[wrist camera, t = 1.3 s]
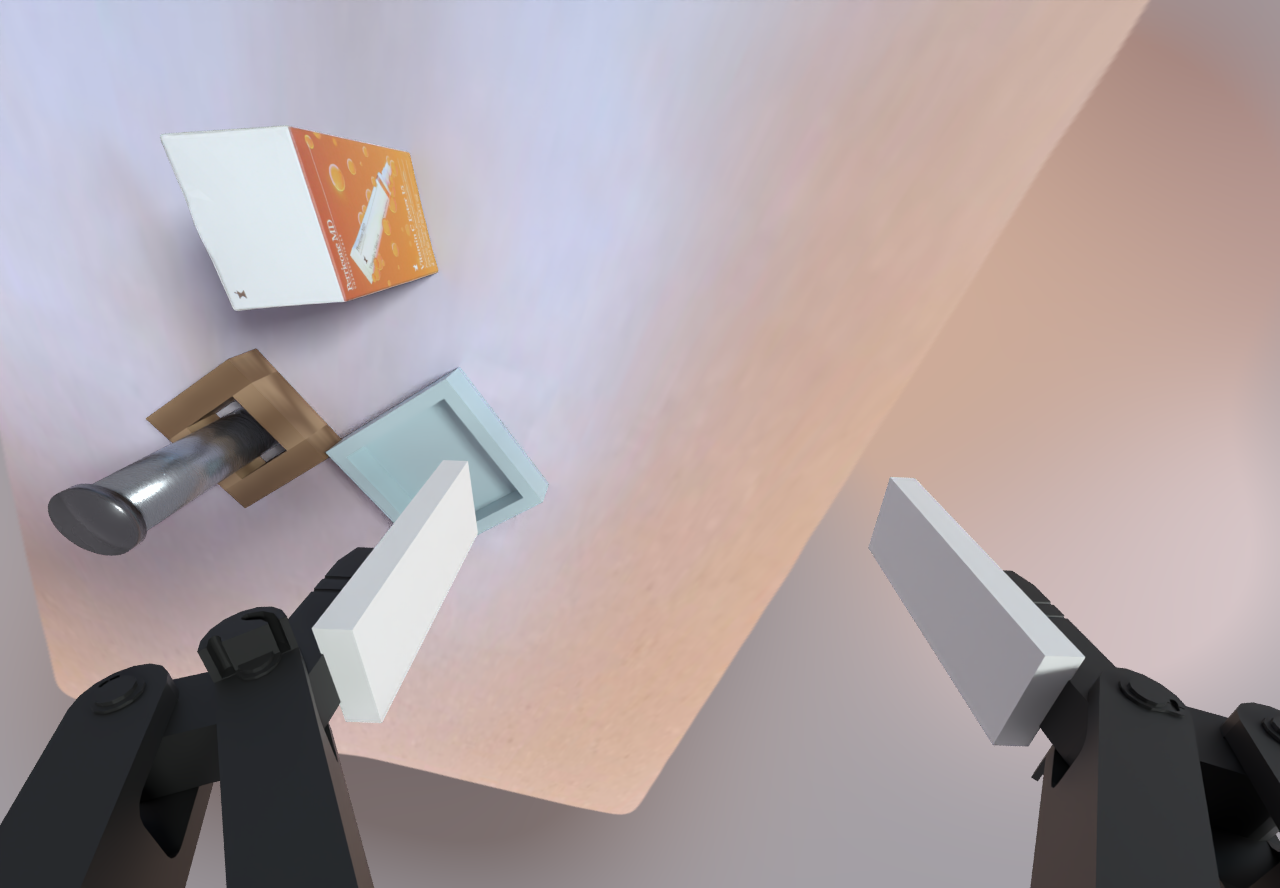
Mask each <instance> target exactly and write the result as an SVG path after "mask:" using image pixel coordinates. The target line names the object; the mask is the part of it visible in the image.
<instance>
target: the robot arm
mask: <svg viewBox="0 0 1280 888" xmlns="http://www.w3.org/2000/svg"><path fill="white" fill-rule="evenodd" d="M477 534H478V530H477V523H476V515H475V508H474V501H473V494H472V487H471V480H470V472H469V465H468V461H455V460H443V461H442V462H441V463H440V465H439V466H438V467H437V469H436V470H435V471H434V472H433V474H432V475H431V476H430V478H429V479H428V480H427V481H426V483H425V484H424V485H423V487H422V488H421V489H420V490H419V492H418V493H417V494H416V496H415V497H414V498H413V499H412V501H411V502H410V503H409V504H408V506H407V507H406V508H405V510H404V511H403V512H402V513H401V515H400V516H399V517H398V519H397V520H396V521H395V522H394V524H393V525H392V526H391V528H390V529H389V530H388V531H387V533H386V534H385V535H384V536H383V538H382V539H381V540H380V542H379V543H378V544H377V545H376V547H375V548H360V547H358V548H356V549H355V550H353V551H352V552H350V553H349V554H347V555H346V556H344V557H343V558H341V559H340V560H338V561H337V562H336V564H335V565H334V566H333V567H332V568H331V569H330V571H329V572H328V573H327V574H326V575H325V579H322V580H321V581H320V582H319V583H318V585H317V586H316V587H315V588H314V592H311V593H310V594H309V595H308V596H307V598H306V599H305V600H304V601H303V602H302V603H301V605H300V606H299V607H298V608H297V609H296V610H295V612H294V613H293V614H292V615H291V616H290V617H289V619H288V618H287V616H286V615H285V613H284V612H283V611H282V610H281V609H278V608H274V607H256V608H253V609H249V610H245V611H242V612H239V613H237V614H235V615H233V616H231V617H229V618H227V619H225V620H223V621H222V622H220V623H219V624H218V625H216V626H215V627H213V628H212V629H211V630H210V631H209V632H208V633H207V634H206V635H205V636H204V638H203V639H202V640H201V641H200V645H199V648H198V651H197V652H198V654H199V656H200V657H201V659H202V661H203V663H204V665H205V667H206V669H207V671H208V672H206V673H201V674H197V675H192V676H188V677H183V678H178V679H174V680H172V678H171V676H170V675H169V673H168V671H167V670H166V669H165V668H164V667H163V666H162V665H156V664H144V665H138V666H133V667H130V668H127V669H124V670H121V671H119V672H116V673H114V674H112V675H110V676H108V677H106V678H105V679H103V680H101V681H99V682H97V683H95V684H94V685H93V686H92V687H90V688H89V689H88V690H86V691H85V692H84V693H83V694H81V695H80V696H79V697H78V698H77V699H76V701H75V702H74V703H73V704H72V705H71V707H70V708H69V709H68V711H67V712H66V714H65V716H64V717H63V719H62V721H61V722H60V724H59V726H58V728H57V729H56V731H55V733H54V734H53V736H52V738H51V740H50V741H49V743H48V745H47V746H46V748H45V750H44V751H43V753H42V755H41V757H40V759H39V760H38V762H37V763H36V765H35V767H34V769H33V770H32V772H31V774H30V775H29V777H28V779H27V781H26V782H25V784H24V786H23V787H22V789H21V791H20V792H19V794H18V796H17V798H16V799H15V801H14V803H13V804H12V806H11V808H10V810H9V811H8V813H7V815H6V816H5V818H4V820H3V821H2V823H1V825H0V888H185V886H186V881H187V878H188V875H189V871H190V867H191V864H192V860H193V856H194V852H195V849H196V845H197V841H198V838H199V834H200V830H201V826H202V823H203V819H204V815H205V811H206V808H207V804H208V801H209V797H210V793H211V790H212V786H213V782H217V781H220V788H221V803H222V820H223V836H224V851H225V868H226V885H227V888H374V886H373V882H372V878H371V875H370V871H369V867H368V864H367V860H366V856H365V852H364V849H363V845H362V841H361V837H360V834H359V830H358V827H357V823H356V819H355V815H354V811H353V808H352V804H351V801H350V797H349V793H348V789H347V785H346V782H345V778H344V774H343V771H342V767H341V763H340V760H339V756H338V752H337V748H336V745H335V741H334V737H333V734H332V730H331V728H330V725H329V721H330V719H331V717H332V716H333V714H334V712H335V711H336V709H337V707H338V706H339V704H340V707H341V709H342V712H343V715H344V718H345V720H346V722H371V723H382V722H383V720H384V718H385V716H386V714H387V712H388V710H389V708H390V706H391V704H392V702H393V700H394V698H395V696H396V694H397V692H398V690H399V688H400V686H401V684H402V682H403V680H404V678H405V676H406V674H407V672H408V670H409V668H410V666H411V664H412V662H413V660H414V658H415V656H416V654H417V652H418V650H419V648H420V647H421V645H422V643H423V641H424V639H425V637H426V635H427V633H428V631H429V629H430V627H431V625H432V623H433V621H434V619H435V617H436V615H437V613H438V611H439V609H440V607H441V605H442V603H443V601H444V599H445V597H446V595H447V593H448V591H449V589H450V587H451V585H452V583H453V581H454V579H455V577H456V575H457V573H458V571H459V570H460V568H461V566H462V564H463V562H464V560H465V558H466V556H467V554H468V552H469V550H470V548H471V546H472V544H473V542H474V540H475V538H476V536H477ZM869 550H870V551H871V553H872V554H873V556H874V558H875V559H876V561H877V562H878V564H879V565H880V567H881V569H882V570H883V572H884V573H885V575H886V576H887V578H888V579H889V581H890V583H891V584H892V586H893V587H894V589H895V591H896V592H897V594H898V595H899V597H900V599H901V600H902V602H903V603H904V605H905V607H906V608H907V610H908V611H909V613H910V615H911V616H912V618H913V619H914V621H915V622H916V624H917V626H918V627H919V629H920V630H921V632H922V633H923V635H924V637H925V638H926V640H927V641H928V643H929V645H930V646H931V648H932V649H933V651H934V652H935V654H936V656H937V657H938V659H939V661H940V662H941V664H942V665H943V667H944V668H945V670H946V672H947V673H948V675H949V676H950V678H951V680H952V681H953V683H954V684H955V686H956V687H957V689H958V691H959V692H960V694H961V695H962V697H963V699H964V700H965V701H966V703H967V705H968V706H969V708H970V710H971V711H972V713H973V714H974V716H975V717H976V719H977V721H978V722H979V724H980V726H981V727H982V729H983V730H984V732H985V733H986V735H987V737H988V738H989V740H990V741H991V743H992V744H993V745H1003V746H1004V745H1005V746H1029V745H1030V743H1031V741H1032V740H1033V738H1034V737H1035V735H1036V734H1037V732H1038V731H1039V729H1040V728H1041V729H1042V731H1043V732H1044V733H1045V735H1046V736H1047V738H1049V740H1050V742H1051V743H1052V744H1053V745H1052V746H1051V748H1050V749H1049V751H1048V752H1047V754H1046V755H1045V757H1044V758H1043V760H1042V761H1041V763H1040V764H1039V766H1038V767H1037V769H1036V770H1035V772H1034V774H1033V775H1032V778H1033V779H1035V780H1037V781H1038V780H1039V779H1040V777H1041V776H1042V775H1044V777H1043V786H1042V794H1041V802H1040V811H1039V819H1038V829H1037V836H1036V845H1035V853H1034V863H1033V870H1032V879H1031V888H1280V841H1279V839H1278V837H1277V836H1276V833H1277V832H1280V710H1277V709H1275V708H1272V707H1270V706H1266V705H1261V704H1257V703H1242V704H1240V705H1239V706H1238V707H1237V709H1236V710H1235V711H1234V712H1233V713H1232V714H1231V715H1230V716H1229V718H1226V717H1223V716H1220V715H1216V714H1212V713H1209V712H1205V711H1202V710H1198V709H1194V708H1190V707H1187V706H1185V705H1184V703H1182V701H1181V700H1180V699H1179V698H1178V697H1177V696H1176V695H1175V694H1173V693H1172V692H1171V691H1169V690H1168V689H1167V688H1165V687H1164V686H1163V685H1161V684H1160V683H1158V682H1156V681H1154V680H1152V679H1150V678H1148V677H1147V676H1145V675H1143V674H1139V673H1137V672H1134V671H1131V670H1128V669H1124V668H1116V667H1115V666H1114V665H1113V664H1112V663H1111V662H1110V661H1109V660H1108V659H1107V658H1106V657H1105V656H1104V655H1103V654H1102V653H1101V652H1100V651H1099V650H1098V649H1097V648H1096V647H1095V646H1094V645H1093V644H1092V643H1091V642H1090V641H1089V640H1088V639H1087V638H1086V637H1085V636H1084V635H1083V634H1082V633H1081V632H1080V631H1079V630H1078V629H1077V628H1076V627H1075V626H1074V625H1073V624H1072V623H1071V622H1070V621H1069V620H1068V619H1065V618H1064V615H1063V614H1062V613H1061V612H1060V611H1059V610H1058V609H1057V608H1056V607H1055V606H1054V605H1051V604H1050V601H1049V600H1048V599H1047V598H1046V597H1045V596H1044V595H1043V594H1042V593H1041V592H1040V591H1039V590H1038V589H1037V588H1036V587H1035V586H1034V585H1033V584H1031V583H1030V582H1028V581H1027V580H1025V579H1024V578H1022V577H1021V576H1019V575H1018V574H1016V573H1015V572H1013V571H1004V570H1002V569H1001V568H1000V567H999V566H998V565H997V564H996V563H995V562H994V561H993V560H992V559H991V558H990V556H988V554H987V553H986V552H985V551H984V550H983V549H982V548H981V547H980V546H979V545H978V544H977V543H976V542H975V541H974V540H973V539H972V538H971V537H970V536H969V534H967V532H966V531H965V530H964V529H963V528H962V527H961V526H960V525H959V524H958V523H957V522H956V521H955V520H954V519H953V518H952V517H951V516H950V515H949V514H948V512H947V511H946V510H945V509H944V508H943V507H942V506H941V505H940V504H939V503H938V502H937V501H936V500H935V499H934V498H933V497H932V496H931V495H930V494H929V493H928V491H927V490H926V489H925V488H924V487H923V486H922V485H921V484H920V483H919V482H918V481H917V480H916V479H915V478H898V477H890V479H889V483H888V486H887V489H886V492H885V496H884V499H883V502H882V505H881V509H880V512H879V515H878V518H877V522H876V525H875V528H874V531H873V535H872V538H871V541H870V544H869Z"/></svg>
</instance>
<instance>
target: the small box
mask: <svg viewBox="0 0 1280 888" xmlns="http://www.w3.org/2000/svg"><path fill="white" fill-rule="evenodd" d="M160 138H161V142H162V144H163V147H164V149H165V152H166V154H167V157H168V159H169V161H170V164H171V166H172V169H173V171H174V174H175V176H176V179H177V181H178V183H179V185H180V188H181V190H182V192H183V195H184V197H185V200H186V202H187V205H188V207H189V210H190V213H191V216H192V219H193V221H194V224H195V227H196V229H197V231H198V234H199V236H200V238H201V240H202V242H203V244H204V246H205V248H206V250H207V252H208V254H209V256H210V258H211V260H212V262H213V264H214V266H215V269H216V271H217V273H218V275H219V278H220V280H221V282H222V285H223V287H224V289H225V291H226V293H227V296H228V298H229V300H230V303H231V305H232V307H233V309H234V310H235V311H243V310H252V309H263V308H273V307H285V306H296V305H308V304H320V303H333V302H346V301H350V300H353V299H357V298H360V297H363V296H367V295H370V294H373V293H376V292H379V291H383V290H386V289H389V288H392V287H395V286H398V285H401V284H405V283H408V282H411V281H414V280H417V279H420V278H423V277H426V276H429V275H432V274H435V273H437V272H438V267H437V264H436V261H435V257H434V254H433V250H432V246H431V242H430V238H429V234H428V230H427V226H426V222H425V218H424V214H423V210H422V205H421V201H420V197H419V192H418V188H417V184H416V179H415V175H414V170H413V166H412V162H411V157H410V154H409V152H407V151H402V150H398V149H393V148H389V147H385V146H380V145H376V144H371V143H367V142H362V141H357V140H353V139H348V138H343V137H339V136H335V135H329V134H325V133H321V132H316V131H311V130H307V129H303V128H298V127H293V126H288V125H285V126H272V127H258V128H243V129H228V130H213V131H197V132H182V133H168V134H161V135H160Z"/></svg>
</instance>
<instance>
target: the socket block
mask: <svg viewBox="0 0 1280 888" xmlns="http://www.w3.org/2000/svg"><path fill="white" fill-rule="evenodd" d="M234 400H237V401H238V402H239V403H240V404H241V405H242V406H243V407H244V408H245V409H246V410H247V411H248V412H249V413H250V414H251V415H252V416H253V417H254V418H255V419H256V420H257V421H258V422H259V423H260V424H261V425H262V426H263V427H264V428H265V429H266V430H267V431H268V432H269V433H270V434H271V435H272V436H273V437H274V438H275V439H276V440H277V441H278V442H279V443H280V444H281V445H282V446H283V447H284V448H285V449H286V450H285V451H284V452H282V453H281V454H279V455H277V456H276V457H274V458H273V459H271V460H269V461H268V462H265V461H264V460H263V459H262V458H261V457H260V456H259V457H258V458H256V459H255V460H253V461H251V462H250V463H248V464H247V465H245V466H244V467H242V468H241V469H239V470H238V471H236V472H235V473H233V474H232V475H230V476H229V477H227V478H226V479H224V480H223V481H221V482H220V483H218V484H219V485H220V486H221V487H222V488H223V489H224V490H225V491H226V492H228V493H229V494H230V495H231V496H232V497H233V498H234V499H235V500H236V501H238V502H239V503H240V504H241V505H242V506H243V507H244V508H247V507H248V506H250V505H252V504H253V503H255V502H257V501H258V500H260V499H262V498H263V497H265V496H267V495H268V494H270V493H271V492H273V491H275V490H276V489H278V488H280V487H281V486H283V485H285V484H286V483H288V482H290V481H291V480H293V479H295V478H296V477H298V476H299V475H301V474H303V473H304V472H306V471H308V470H309V469H311V468H313V467H314V466H316V465H318V464H319V463H321V462H323V461H324V460H326V459H327V458H328V457H329V456H328V455H327V453H326V452H327V451H328V450H329V449H330V448H332V447H333V446H334V445H336V444H337V443H338V442H339V441H341V438H340V437H339V436H338V435H337V434H336V433H335V432H334V431H333V430H332V429H331V428H330V427H329V426H328V425H327V424H326V422H325V421H324V420H323V419H322V418H321V417H320V416H319V415H318V414H317V413H316V412H315V411H314V410H313V409H312V408H311V406H310V405H309V404H308V403H307V402H306V401H305V400H304V399H303V398H302V397H301V396H300V395H299V394H298V393H297V392H296V390H295V389H294V388H293V387H292V386H291V385H290V384H289V383H288V382H287V381H286V380H285V379H284V378H283V377H282V376H281V374H280V373H279V372H278V371H277V370H276V369H275V368H274V367H273V366H272V365H271V364H270V363H269V362H268V361H267V360H266V358H265V357H264V356H263V355H262V354H261V353H260V352H259V351H258V350H257V349H254V350H251V351H248V352H246V353H243V354H241V355H238V356H235V357H233V358H230V359H228V360H226V361H225V362H224V363H222V364H221V365H219V366H218V367H217V368H215V369H214V370H212V371H211V372H210V373H208V374H207V375H206V376H204V377H203V378H201V379H200V380H199V381H197V382H196V383H194V384H193V385H192V386H190V387H189V388H188V389H186V390H185V391H183V392H182V393H181V394H179V395H178V396H176V397H175V398H174V399H172V400H171V401H169V402H168V403H167V404H165V405H164V406H163V407H161V408H160V409H158V410H157V411H156V412H154V413H153V414H151V415H150V416H149V417H147V418H146V419H147V420H148V421H149V422H150V423H151V424H152V425H153V426H154V427H155V428H156V429H158V430H159V431H160V432H161V433H162V434H163V435H164V436H165V437H166V438H168V439H169V440H170V441H171V442H172V443H174V442H176V441H178V440H179V439H181V438H183V437H185V436H187V435H189V434H191V433H193V432H195V431H197V430H199V429H201V428H203V427H205V426H207V425H209V424H211V423H213V422H215V421H217V420H218V419H220V418H219V417H218V416H217V415H216V413H217V412H218V411H220V410H221V409H223V408H224V407H226V406H227V405H229V404H230V403H232V402H233V401H234Z"/></svg>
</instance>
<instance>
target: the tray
mask: <svg viewBox="0 0 1280 888" xmlns="http://www.w3.org/2000/svg"><path fill="white" fill-rule="evenodd" d="M326 453H327V455H328V456H329V457H330V458H331V459H332V460H333V461H334V462H335V463H336V464H337V465H338V466H339V467H340V468H341V469H342V470H343V471H344V472H345V473H346V474H347V475H348V476H349V477H350V478H351V479H352V480H353V481H354V482H355V484H356V485H357V486H358V487H359V488H360V489H361V490H362V491H363V492H364V493H365V494H366V495H367V496H368V497H369V498H370V499H371V500H372V501H373V502H374V503H375V504H376V505H377V506H378V507H379V508H380V509H381V510H382V511H383V513H384V514H385V515H386V516H387V517H388V518H389V519H390V520H391V521H392V522H393V523H394V522H395V521H396V520H397V519H398V517H399V516H400V515H401V513H402V512H403V511H404V510H405V508H406V507H407V506H408V504H409V503H410V502H411V501H412V499H413V498H414V497H415V496H416V494H417V493H418V492H419V490H420V489H421V488H422V487H423V485H424V484H425V483H426V481H427V480H428V479H429V478H430V476H431V475H432V474H433V472H434V471H435V470H436V469H437V467H438V466H439V465H440V463H441V462H442V461H443V460H455V461H468V465H469V472H470V480H471V487H472V494H473V501H474V508H475V515H476V523H477V530H478V534H477V535H479V534H481V533H483V532H485V531H486V530H488V529H490V528H492V527H494V526H496V525H498V524H500V523H502V522H504V521H506V520H508V519H510V518H512V517H514V516H516V515H518V514H520V513H522V512H524V511H526V510H528V509H530V508H532V507H534V506H536V505H538V504H540V503H542V502H543V500H544V497H545V494H546V491H547V488H548V485H549V484H548V482H547V481H546V480H545V478H544V477H543V476H542V475H541V473H540V472H539V471H538V469H537V468H536V467H535V465H534V464H533V463H532V461H531V460H530V459H529V458H528V456H527V455H526V454H525V452H524V451H523V450H522V448H521V447H520V446H519V444H518V443H517V442H516V441H515V439H514V438H513V437H512V435H511V434H510V433H509V431H508V430H507V429H506V427H505V426H504V425H503V424H502V422H501V421H500V420H499V418H498V417H497V416H496V414H495V413H494V412H493V410H492V409H491V408H490V406H489V405H488V404H487V403H486V401H485V400H484V399H483V397H482V396H481V395H480V393H479V392H478V391H477V389H476V388H475V387H474V386H473V384H472V383H471V382H470V380H469V379H468V378H467V376H466V375H465V374H464V372H463V371H462V370H461V369H460V367H458V368H457V369H455V370H453V371H452V372H450V373H449V374H447V375H445V376H444V377H442V378H440V379H439V380H437V381H436V382H434V383H432V384H431V385H429V386H427V387H426V388H424V389H422V390H421V391H419V392H418V393H416V394H414V395H413V396H411V397H409V398H408V399H406V400H405V401H403V402H401V403H400V404H398V405H396V406H395V407H393V408H392V409H390V410H388V411H387V412H385V413H383V414H382V415H380V416H378V417H377V418H375V419H374V420H372V421H370V422H369V423H367V424H365V425H364V426H362V427H361V428H359V429H357V430H356V431H354V432H352V433H351V434H349V435H348V436H346V437H345V438H343V439H342V440H341V441H339V442H338V443H337V444H336V445H334V446H333V447H332V448H330V449H329V450H328V451H327V452H326Z"/></svg>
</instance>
